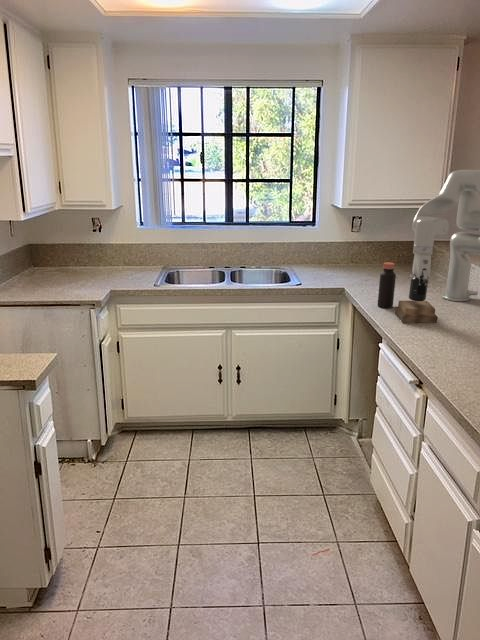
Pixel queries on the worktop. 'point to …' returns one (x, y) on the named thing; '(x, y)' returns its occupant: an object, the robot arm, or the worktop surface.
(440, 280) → the worktop surface
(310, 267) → the worktop surface
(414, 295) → the supplement bottle
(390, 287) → the vinegar
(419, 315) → the stepped wooden plinth
